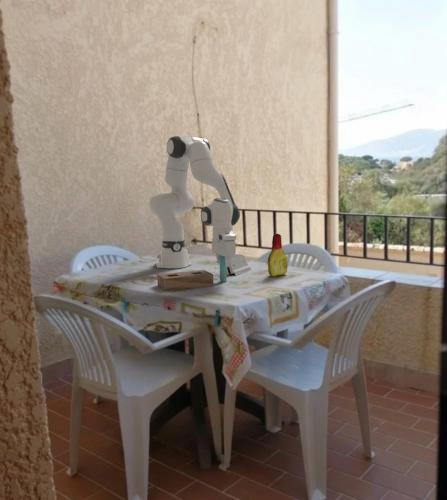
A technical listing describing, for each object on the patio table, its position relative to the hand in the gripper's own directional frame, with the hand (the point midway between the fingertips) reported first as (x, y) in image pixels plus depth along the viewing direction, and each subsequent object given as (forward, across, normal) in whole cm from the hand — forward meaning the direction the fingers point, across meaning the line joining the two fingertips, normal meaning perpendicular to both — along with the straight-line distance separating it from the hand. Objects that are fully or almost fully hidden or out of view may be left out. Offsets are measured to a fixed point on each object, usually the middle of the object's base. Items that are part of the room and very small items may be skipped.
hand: (223, 265), depth 232 cm
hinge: (+8, -18, +14) cm, 24 cm away
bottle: (+8, -1, +28) cm, 29 cm away
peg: (+8, 0, 0) cm, 8 cm away
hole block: (+8, 0, -18) cm, 20 cm away
